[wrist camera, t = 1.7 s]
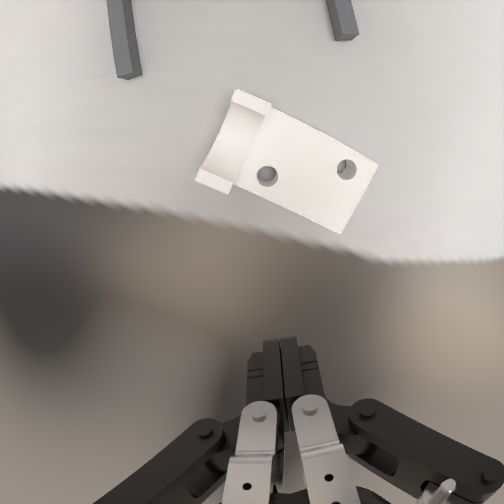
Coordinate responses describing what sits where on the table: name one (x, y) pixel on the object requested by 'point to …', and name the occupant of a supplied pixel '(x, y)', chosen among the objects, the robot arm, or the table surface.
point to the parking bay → (127, 43)
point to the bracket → (286, 163)
